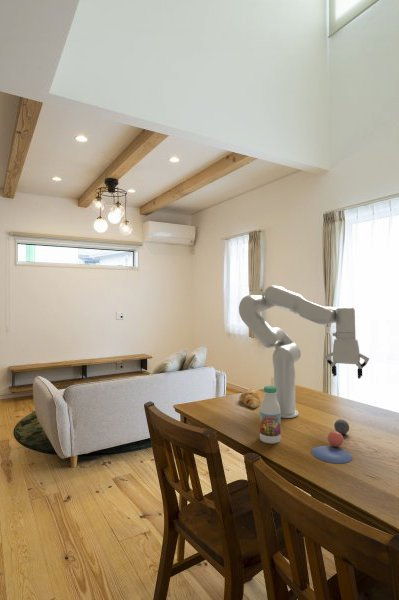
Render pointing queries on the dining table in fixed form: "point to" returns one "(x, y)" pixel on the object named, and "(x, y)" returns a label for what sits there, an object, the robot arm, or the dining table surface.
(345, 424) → the dark grey ball
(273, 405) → the milk bottle
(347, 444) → the dining table surface
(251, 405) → the croissant
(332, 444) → the red ball
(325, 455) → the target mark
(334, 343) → the robot arm
